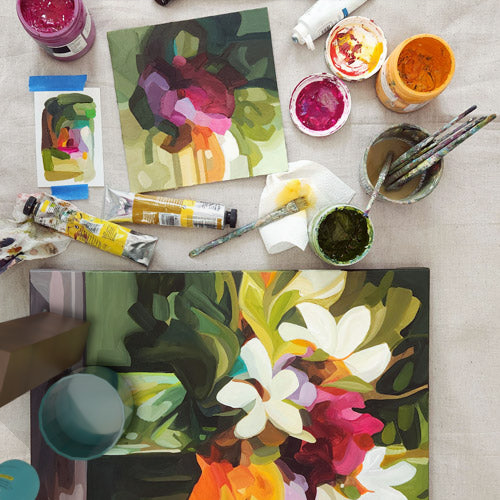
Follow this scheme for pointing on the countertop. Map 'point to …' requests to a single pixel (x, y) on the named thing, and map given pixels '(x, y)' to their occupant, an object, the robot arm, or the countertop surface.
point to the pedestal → (37, 351)
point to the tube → (18, 481)
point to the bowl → (86, 412)
